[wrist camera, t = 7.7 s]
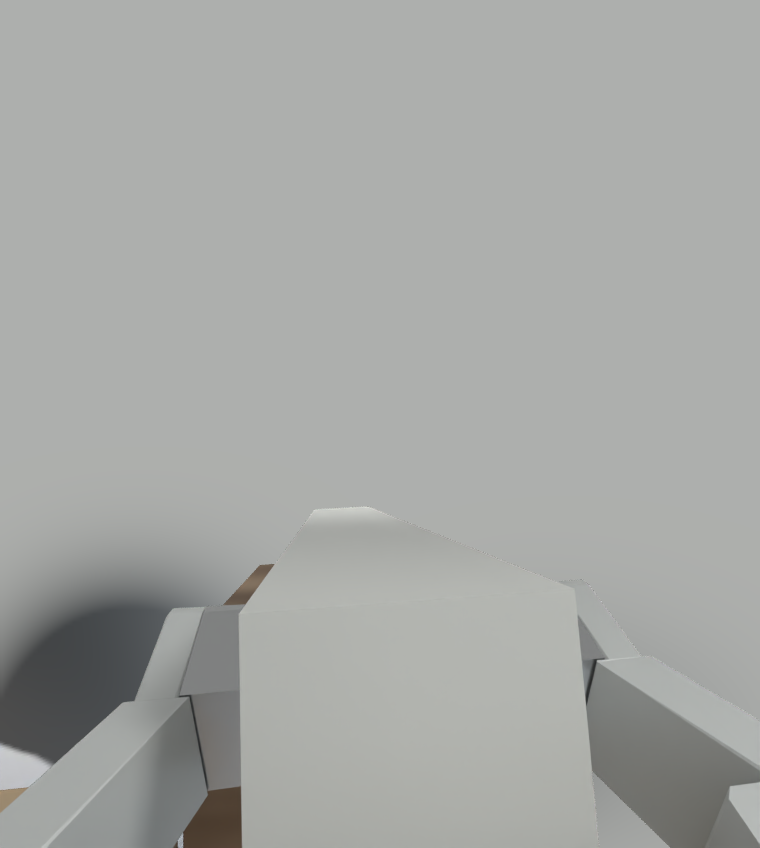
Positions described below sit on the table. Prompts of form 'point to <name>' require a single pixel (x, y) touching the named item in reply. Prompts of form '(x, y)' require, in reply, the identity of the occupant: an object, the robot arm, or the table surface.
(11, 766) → the table surface
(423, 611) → the bar
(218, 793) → the pedestal
